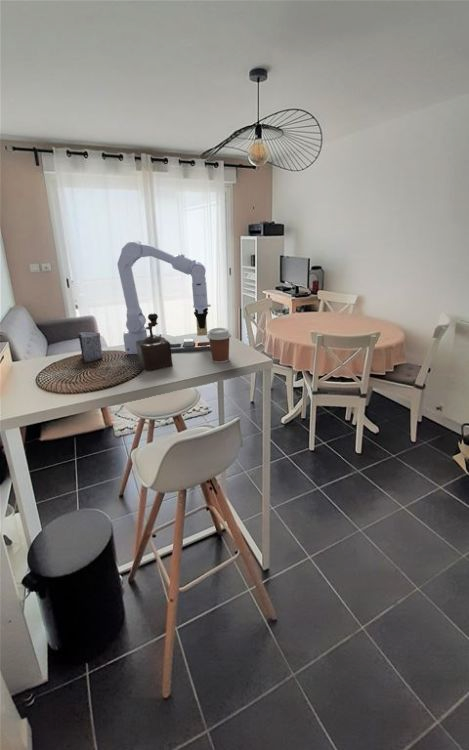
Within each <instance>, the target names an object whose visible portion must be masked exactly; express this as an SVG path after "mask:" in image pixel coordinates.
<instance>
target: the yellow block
mask: <svg viewBox="0 0 469 750" xmlns="http://www.w3.org/2000/svg"><path fill="white" fill-rule="evenodd" d="M195 318H196V317H195ZM195 321H196V334H197V336H198V337H200V336H201V337H202V336H207V335H208V325H207V320H206V322H205V328H204V329H200V328H199V325H198V321H197V318H196V319H195Z"/></svg>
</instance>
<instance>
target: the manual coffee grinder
mask: <svg viewBox="0 0 469 750" xmlns="http://www.w3.org/2000/svg"><path fill="white" fill-rule="evenodd" d="M147 318H148V319H147V320H149V321H150V322H148V323H147V326H146V327H145V328H146V330H149V336H147V338H145V339H144V340H140V341H136V347H137V353H138V354H137V358H138V363H139V365H141V366H142V367H141V366H140V367H141V368H142V369H144V371H146V372H152V371H156V370H161V369H166V368H170V367H173V365H174V364H173V357H172V352H171V347H170V344H171V343H170V342H169V341H168V340H167V339H166V338H165V337H163V336H162V335H161V334H159V336H158V335H154V334H153V327H156V326H157V325H158V324H159V323H158V322H157V321H158V319H159V316H158V314H157V313H155V312H153V313H149V314H148V316H147Z"/></svg>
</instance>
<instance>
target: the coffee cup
mask: <svg viewBox="0 0 469 750" xmlns="http://www.w3.org/2000/svg"><path fill="white" fill-rule="evenodd" d="M206 337H207V339H208V341H210V348H211V350H210V353H211V360H212V362H213V363H215V364H224V363H227V362H229V361H230V360H229V359H230V357H229V356H230V339H231V337H232V333H231V332H230V331H229V329H228V328H226V327H216V328H215V327H214V328H211V329H210V330H209V332H208V333H207V335H206Z"/></svg>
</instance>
